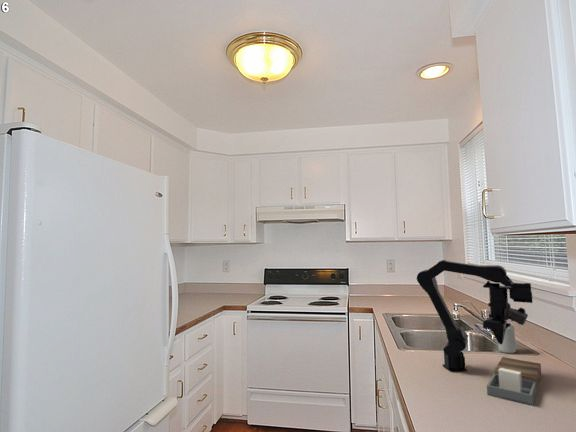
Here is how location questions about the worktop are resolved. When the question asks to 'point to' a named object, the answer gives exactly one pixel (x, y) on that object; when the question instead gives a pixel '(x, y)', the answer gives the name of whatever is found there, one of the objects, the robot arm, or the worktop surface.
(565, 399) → the worktop surface
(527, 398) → the box
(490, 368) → the worktop surface
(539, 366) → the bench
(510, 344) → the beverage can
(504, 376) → the tile
